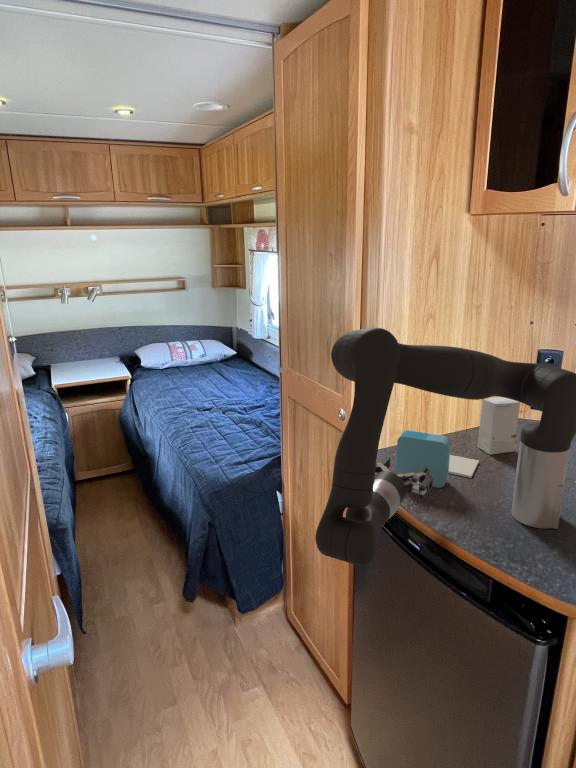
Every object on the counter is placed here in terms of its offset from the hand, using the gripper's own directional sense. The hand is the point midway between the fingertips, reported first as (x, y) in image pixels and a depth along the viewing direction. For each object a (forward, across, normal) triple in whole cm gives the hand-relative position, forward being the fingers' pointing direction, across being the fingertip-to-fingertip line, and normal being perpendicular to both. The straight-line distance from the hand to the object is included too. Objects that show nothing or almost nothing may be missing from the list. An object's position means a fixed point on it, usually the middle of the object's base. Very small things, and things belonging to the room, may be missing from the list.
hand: (406, 465), depth 111 cm
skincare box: (+40, -13, +9) cm, 43 cm away
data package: (+12, 0, +9) cm, 16 cm away
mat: (+24, -4, +9) cm, 26 cm away
